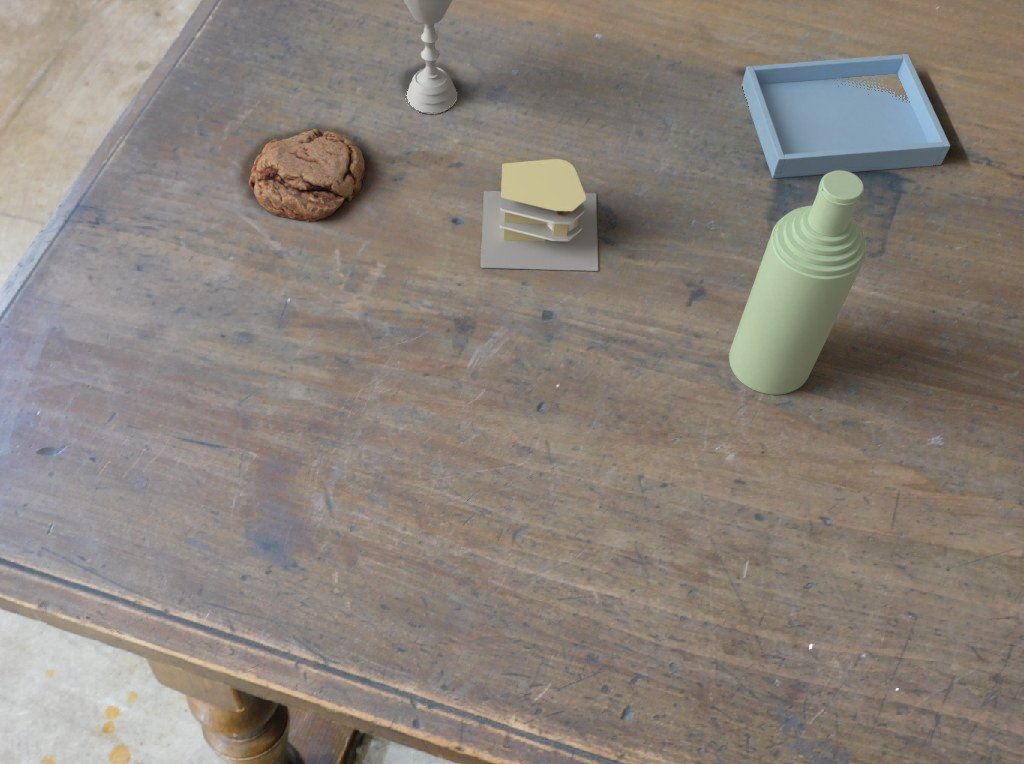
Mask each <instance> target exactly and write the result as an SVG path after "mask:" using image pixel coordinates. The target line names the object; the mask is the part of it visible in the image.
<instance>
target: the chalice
mask: <svg viewBox="0 0 1024 764" xmlns="http://www.w3.org/2000/svg"><path fill="white" fill-rule="evenodd" d="M403 2H404V4H405V5H406V7H407V8H408V10H409V12H410V13H411V15H412V17H413V18H414V20H415V21H416V22H418V23H419V24H422V25H423V26H424V28H423V33H421V35H420V39H421V40H422V42H423V43H424V49H423V50H421V52H420V57H421V58H422V59H423V60H424V62H425V67H423V68H421V69H419V70H418V71H417V72H416V73H414V75H413V77H412V79H411V82H410V83H409V85H408V89H407V90H408V91H407V90H406V92H407V95H406V94H405V96H407V99H408V103H409V102H410V105H411V106H412V107H414V108H415V109H416V110H419V111H421V112H431V113H433V112H440V111H443V110H444V109H448V108H449V106H450V107H451V106H452V105H453V103H454V102H455V100H456V97H457V93H458V91H457V92H456V90H457V88H456V87H455V85H454V82H453V81H452V79H451V77H450V75H449V73H447V71H445V70H444V69H443V68H441V67H437V66H436V61H437V59H439V57H440V54H441V53H440V51H439V49H437V48H436V46H435V45H436V42H437V41H438V39H439V34H438V32H436V28H435V24H437V23H439V22H440V21H442V20H443V18H444V17H445V15H446V13H447V10H449V7H450V6H451V3H452V2H453V0H403Z"/></svg>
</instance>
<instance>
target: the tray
mask: <svg viewBox="0 0 1024 764" xmlns="http://www.w3.org/2000/svg"><path fill="white" fill-rule="evenodd" d="M888 74H898V77H899V79H900V81H901V83H902V86H903V88H904V90H905V92H906V95H907V97H908V98H907V100H908V101H907V100H905V99H904V98H905V95H904V97H903V99H904V101H903V102H902V95H900V97H901V98H900V97H899V96H898V95H897V97H895V92H893V93H894V94H892V93H891V91H889V92H890V93H891V94H890V93H888V91H886V90H885V91H886V92H885V91H884V90H882V91H883V92H881V87H880V86H878V87H879V88H880V89H877V86H876V85H874V86H875V87H876V88H874V86H873V85H871V86H872V87H873V88H869V87H870V85H869V84H867V85H868V86H869V87H867V85H866V84H865V83H866V81H864V82H865V83H860V84H861V85H862V86H860V85H859V81H858V79H856V80H857V81H858V82H856V83H857V84H858V85H856V83H855V82H854V81H855V79H853V80H854V81H850V80H851V78H850V77H860V78H861V77H862V76H873V77H874V76H875V75H888ZM876 77H877V76H876ZM837 78H839V79H837ZM840 78H842V79H840ZM844 78H845V79H844ZM847 78H848V79H850V80H846V79H847ZM877 78H878V77H877ZM829 79H831V80H829ZM833 79H834V80H835V81H834V80H833ZM864 79H865V78H864ZM867 79H868V78H867ZM881 79H882V78H881ZM837 80H838V81H837ZM871 80H872V79H871ZM874 80H875V79H874ZM842 81H843V82H842ZM844 81H846V82H844ZM848 81H849V82H850V83H848ZM860 81H861V82H862V80H860ZM878 81H879V80H878ZM852 82H853V83H854V84H852ZM867 82H868V83H869V81H867ZM841 83H842V84H843V85H842V84H841ZM871 83H872V84H873V82H871ZM874 83H875V84H876V82H874ZM845 84H846V85H845ZM863 84H864V85H865V86H863ZM878 84H879V85H880V83H878ZM849 85H850V86H849ZM882 85H883V84H882ZM742 86H743V89H742V91H743V90H744V92H743V95H744V94H745V95H744V98H745V97H746V98H745V100H746V99H747V101H746V103H747V102H748V104H747V107H748V106H749V107H748V110H749V113H750V116H751V119H752V122H753V125H754V128H755V130H756V131H755V132H756V134H757V137H758V140H759V142H760V145H761V149H762V151H763V154H764V158H765V161H766V164H767V167H768V170H769V172H770V175H771V178H772V179H783V178H796V177H807V176H820V175H826V174H827V173H830V172H832V171H838V170H841V171H848V172H851V173H859V172H869V171H871V172H872V171H883V170H896V169H909V168H923V167H935V165H936V166H941V165H942V163H943V161H944V160H945V158H946V156H947V154H948V152H949V151H950V148H951V143H950V142H949V140H948V138H947V135H946V133H945V131H944V129H943V127H942V125H941V122H940V120H939V118H938V116H937V113H936V111H935V110H934V107H933V105H932V103H931V100H930V99H929V98H930V97H928V94H927V91H926V90H925V87H924V86H923V84H922V81H921V79H920V77H919V75H918V73H917V70H916V68H915V67H914V65H913V62H912V59H911V58H910V55H909V53H903V54H890V55H889V54H888V55H875V56H864V57H862V56H861V57H853V58H851V57H850V58H849V57H848V58H837V59H825V60H812V61H799V62H798V61H797V62H787V63H785V62H784V63H773V64H760V65H747V66H746V67H745V72H744V75H743V79H742V82H741V87H742ZM838 86H839V87H838ZM853 86H854V87H853ZM856 86H857V87H858V88H857V87H856ZM886 86H887V85H886ZM860 87H861V88H860ZM864 88H865V89H864ZM867 88H868V89H870V90H867ZM882 88H883V89H884V87H882ZM871 89H872V90H871ZM874 89H875V90H876V91H875V90H874ZM886 89H887V88H886ZM878 90H879V91H878ZM887 90H888V89H887ZM890 90H891V89H890ZM868 94H869V95H868ZM892 96H893V97H892ZM899 98H900V100H899ZM896 99H897V100H896ZM906 101H907V103H906ZM909 101H910V103H909ZM933 165H934V166H933Z"/></svg>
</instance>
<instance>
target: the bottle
mask: <svg viewBox="0 0 1024 764" xmlns="http://www.w3.org/2000/svg"><path fill="white" fill-rule="evenodd" d="M864 193H865V189H864V182H863V181H862V180H861V178H860V177H859V176H858V175H856V174H855V173H854V172H848V171H841V170H838V171H832V172H830V173H827V174H823V176H822V177H821V179H820V182H819V185H818V190H817V193H816V196H815V198H814V201H813V202H812V205H805V206H801V207H797V208H795V209H792V210H790V211H788V213H786V214H785V215H784V216H782V217H781V218H780V219H779V220H778V221H777V222H776V223H775V225H774V227H773V228H772V231H771V233H770V236H769V238H768V242H767V245H766V248H765V251H764V254H763V256H762V259H761V261H760V264H759V268H758V270H757V272H756V276H755V279H754V281H753V285H752V287H751V289H750V293H749V296H748V298H747V301H746V304H745V307H744V309H743V313H742V316H741V317H740V321H739V324H738V327H737V329H736V332H735V335H734V338H733V341H732V344H731V346H730V350H729V352H728V353H729V354H728V361H729V365H730V368H731V371H732V372H733V374H734V376H735V377H736V379H738V380H739V381H740V382H741V383H742V384H743V385H744V386H745V387H747V388H749V389H751V390H753V391H755V392H758V393H761V394H765V395H773V396H774V395H778V396H780V395H785V394H789V393H792V392H795V391H796V390H799V389H800V388H802V386H803V385H805V383H806V382H807V381H808V379H809V378H810V375H811V373H812V372H813V369H814V367H815V364H816V362H817V361H818V359H819V356H820V354H821V352H822V350H823V347H824V346H825V344H826V341H827V339H828V337H829V335H830V333H831V331H832V329H833V327H834V325H835V323H836V321H837V319H838V317H839V315H840V312H841V310H842V308H843V306H844V304H845V302H846V300H847V297H848V296H849V293H850V291H851V290H852V287H853V285H854V283H855V281H856V279H857V277H858V275H859V272H860V270H861V269H862V267H863V264H864V262H865V261H866V257H867V250H868V248H867V241H866V236H865V233H864V230H863V229H862V228H861V226H860V225H859V224H858V223H857V222H856V220H854V219H853V218H852V217H853V216H854V213H855V211H856V209H857V206H858V204H859V202H860V200H862V198H863V196H864Z"/></svg>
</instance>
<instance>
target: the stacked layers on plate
mask: <svg viewBox="0 0 1024 764" xmlns="http://www.w3.org/2000/svg"><path fill="white" fill-rule="evenodd" d="M482 198H483V199H482V201H483V202H482V218H481V219H482V221H481V241H480V242H481V243H480V261H479V263H480V264H479V266H480V267H479V268H481V269H511V270H512V269H513V270H515V269H516V270H547V271H548V270H549V271H587V272H598V271H599V248H598V247H599V246H598V212H597V211H598V210H597V193H595V192H593V193H592V192H585V189H584V188H583V186H582V183H581V181H580V177H579V175H578V172H577V170H576V169H575V166H574V165H573V164H572V163H570V162H568V161H567V160H564V159H560V158H550V159H540V160H539V159H538V160H528V161H516V162H505V163H501V184H500V190H483V197H482Z"/></svg>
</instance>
